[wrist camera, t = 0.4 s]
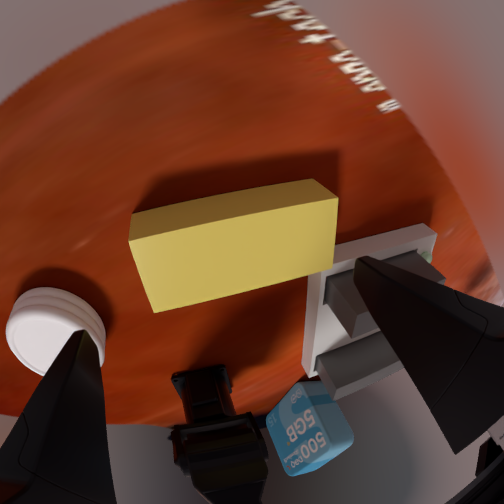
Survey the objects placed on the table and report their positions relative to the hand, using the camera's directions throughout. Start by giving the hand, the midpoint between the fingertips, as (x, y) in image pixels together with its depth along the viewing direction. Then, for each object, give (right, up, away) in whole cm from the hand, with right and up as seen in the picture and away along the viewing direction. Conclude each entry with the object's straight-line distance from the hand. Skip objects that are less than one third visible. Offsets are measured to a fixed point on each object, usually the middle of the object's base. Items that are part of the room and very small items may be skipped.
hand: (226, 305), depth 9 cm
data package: (+7, -21, +34) cm, 41 cm away
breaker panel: (+14, -4, +25) cm, 29 cm away
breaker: (+14, -10, +26) cm, 32 cm away
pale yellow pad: (-1, +3, +15) cm, 15 cm away
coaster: (-18, -5, +15) cm, 24 cm away
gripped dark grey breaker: (+13, -1, +20) cm, 23 cm away
